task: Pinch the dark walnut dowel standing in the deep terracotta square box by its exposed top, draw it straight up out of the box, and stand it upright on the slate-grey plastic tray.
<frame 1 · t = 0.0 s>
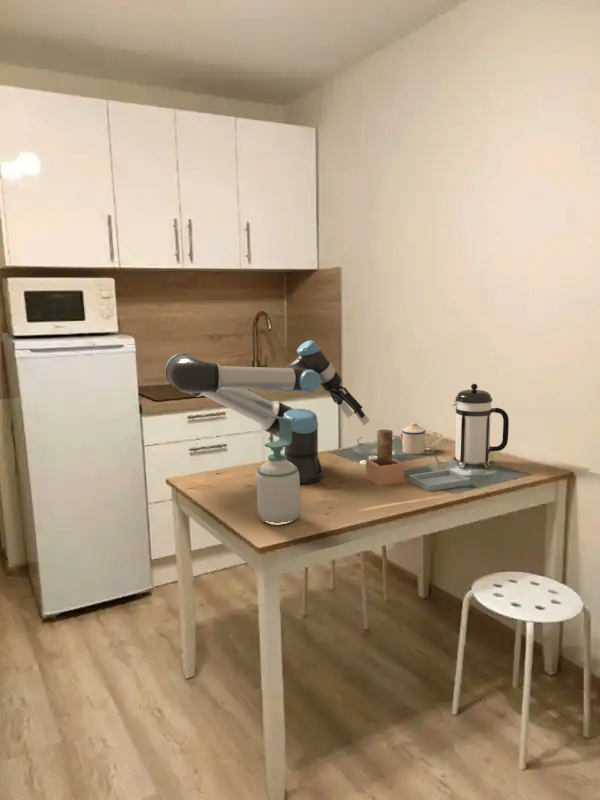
hand: (358, 419, 233), 15 cm above the table, tool tilted 35°, fingers open, 13 cm apart
coffee press: (475, 464, 225), on the table
walnut dowel: (384, 479, 207), point 1 cm above the table, touching terracotta square box
terracotta square box: (384, 481, 207), on the table
soap bottle: (279, 520, 176), on the table
slate tray: (439, 484, 203), on the table
teacup and saucer: (372, 465, 228), on the table
teacup with lid: (410, 451, 244), on the table
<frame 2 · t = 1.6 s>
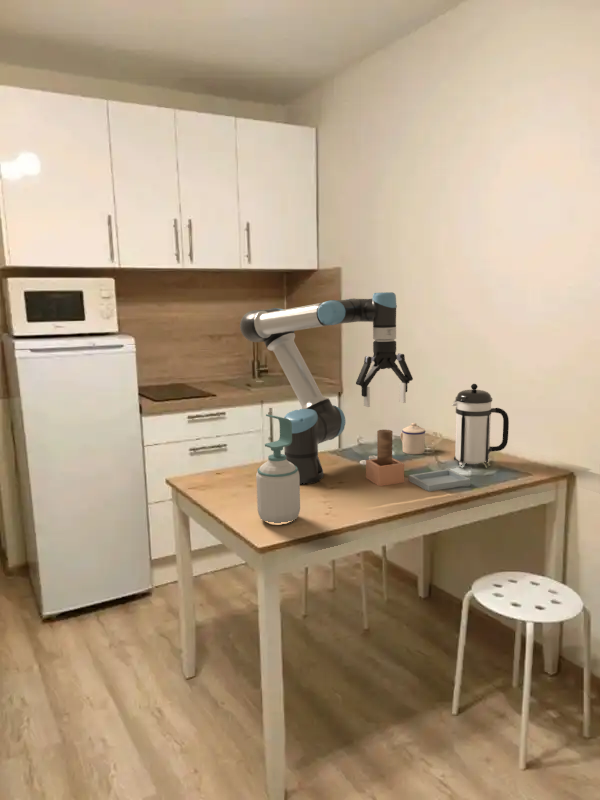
hand: (384, 404, 203), 27 cm above the table, tool pointing down, fingers open, 13 cm apart
nothing on the table moved.
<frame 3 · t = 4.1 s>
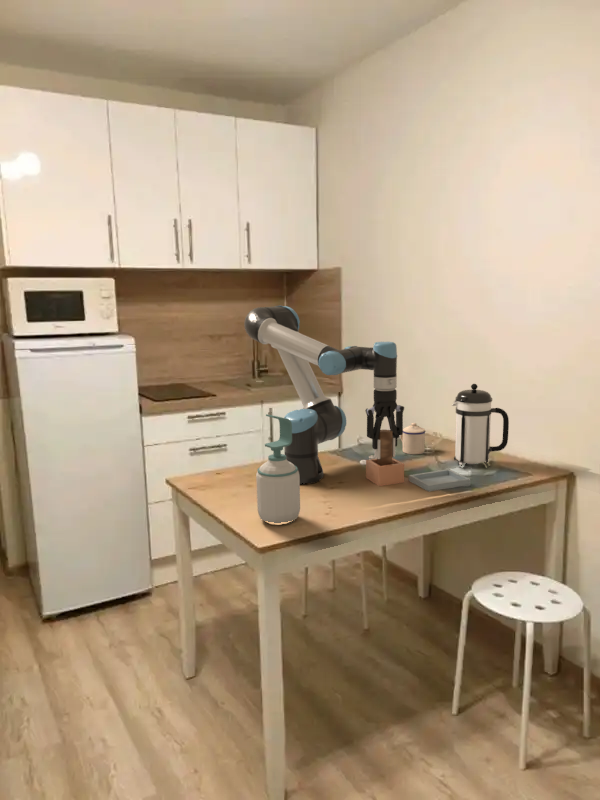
hand: (384, 456, 206), 9 cm above the table, tool pointing down, fingers closed on walnut dowel, 5 cm apart
walnut dowel: (384, 479, 207), point 1 cm above the table, touching gripper, terracotta square box
everything else where it was.
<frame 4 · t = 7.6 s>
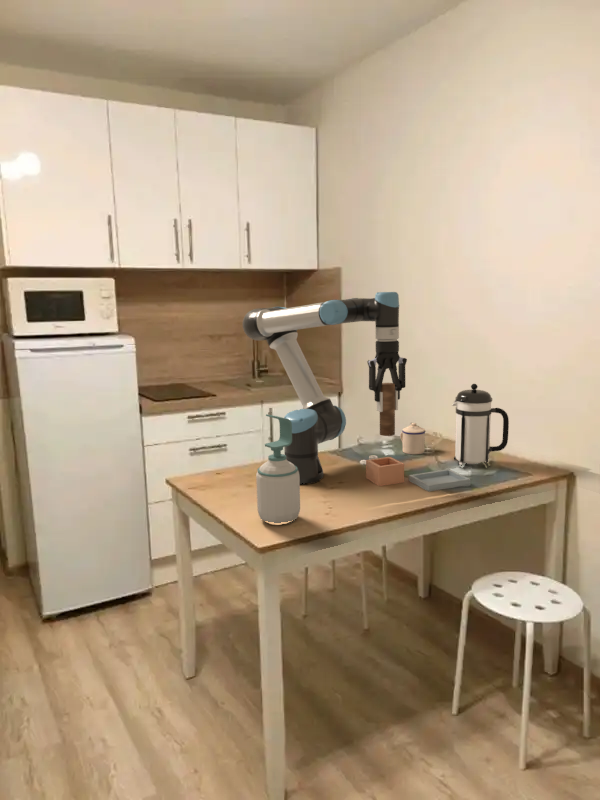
hand: (387, 410, 202), 25 cm above the table, tool pointing down, fingers closed on walnut dowel, 5 cm apart
walnut dowel: (387, 434, 204), point 17 cm above the table, touching gripper
everything else where it was.
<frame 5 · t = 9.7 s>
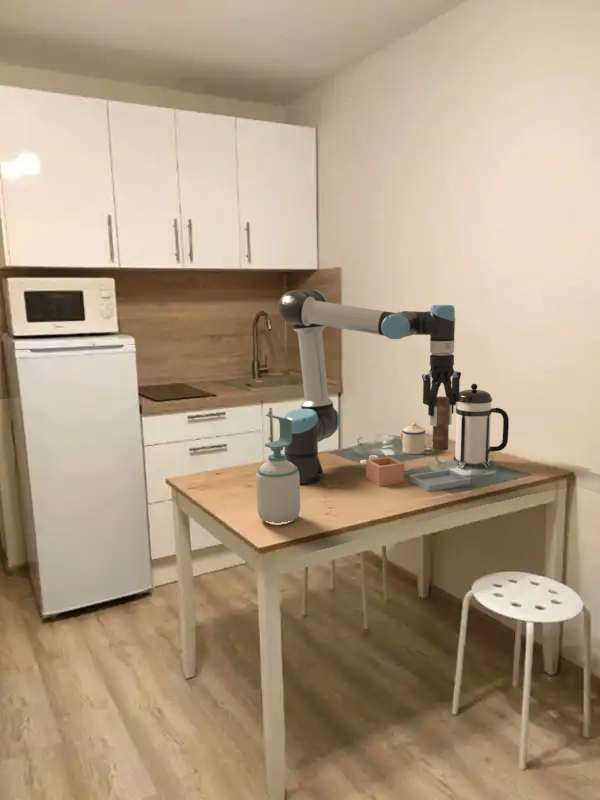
hand: (440, 424, 199), 20 cm above the table, tool pointing down, fingers closed on walnut dowel, 5 cm apart
walnut dowel: (440, 448, 201), point 12 cm above the table, touching gripper
everything else where it was.
when the fingers open (11 cm above the table, at t = 11.6 s): walnut dowel drops 2 cm, resting on slate tray.
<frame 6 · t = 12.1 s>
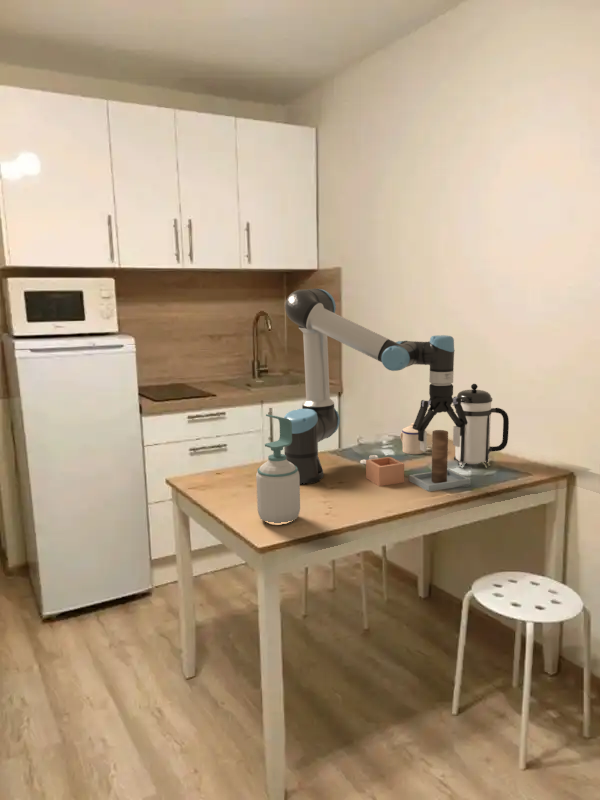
hand: (439, 448, 201), 12 cm above the table, tool pointing down, fingers open, 12 cm apart
walnut dowel: (439, 481, 203), point 1 cm above the table, touching slate tray
everything else where it was.
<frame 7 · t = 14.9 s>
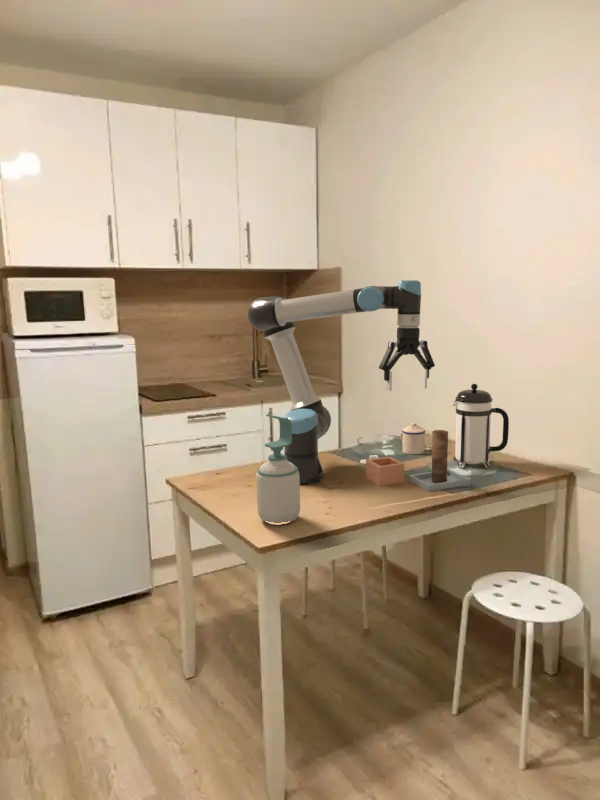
hand: (406, 389, 209), 30 cm above the table, tool pointing down, fingers open, 13 cm apart
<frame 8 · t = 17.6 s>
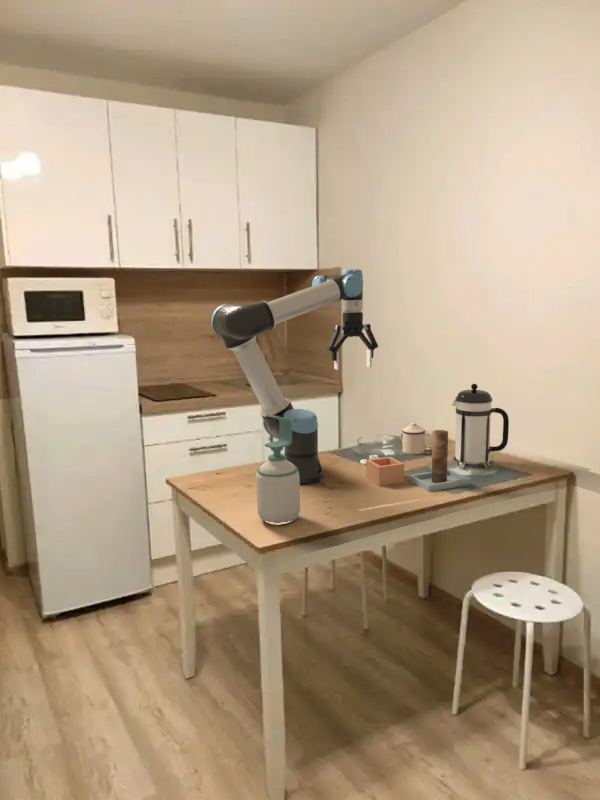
hand: (353, 368, 231), 35 cm above the table, tool pointing down, fingers open, 13 cm apart
at the end: walnut dowel inside the target area on the slate tray (0.0 cm from its centre), point 1.0 cm above the slate tray's base; walnut dowel tilted 0°; the gripper is holding nothing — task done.
